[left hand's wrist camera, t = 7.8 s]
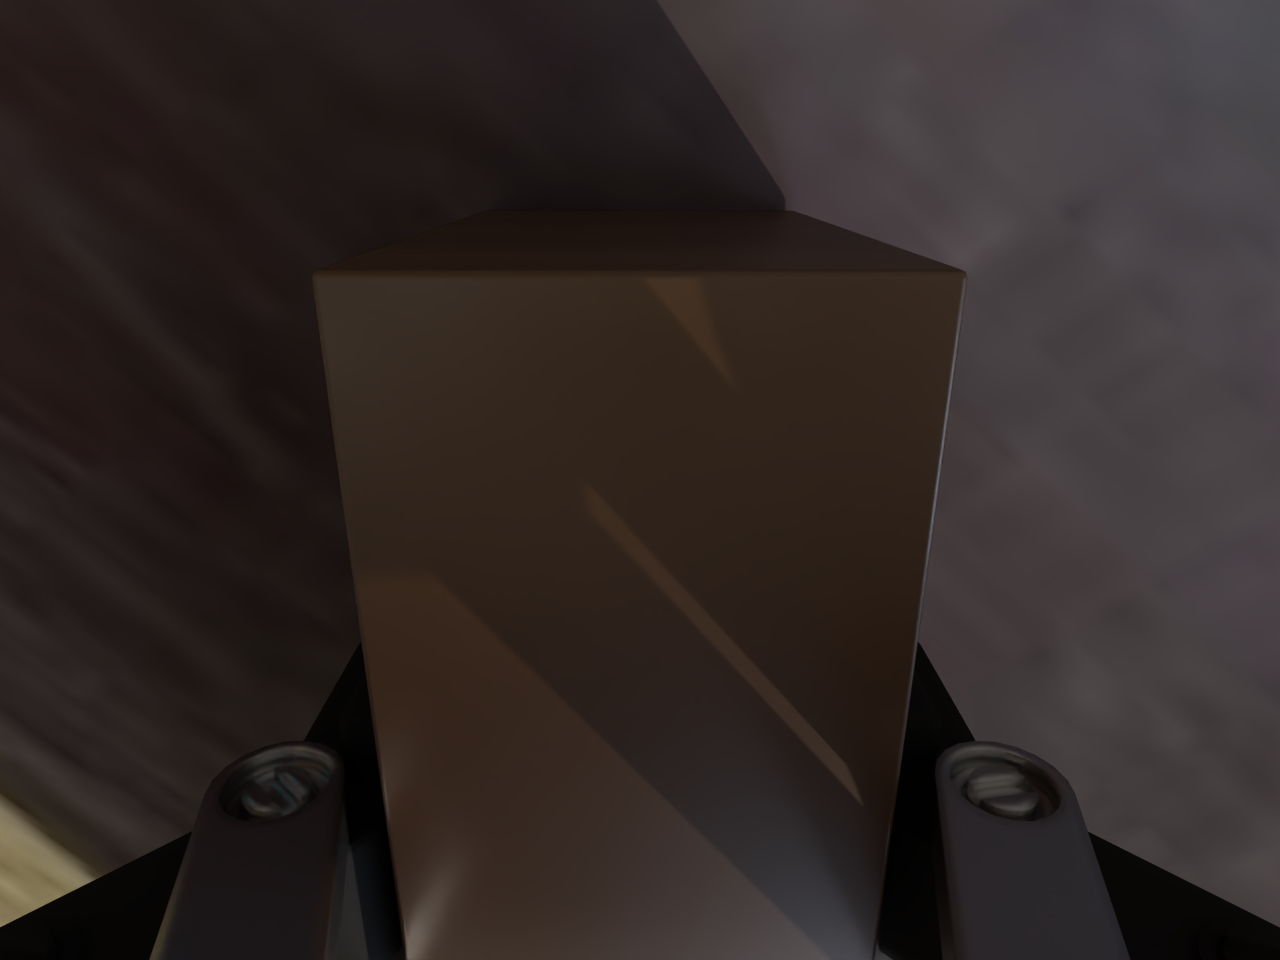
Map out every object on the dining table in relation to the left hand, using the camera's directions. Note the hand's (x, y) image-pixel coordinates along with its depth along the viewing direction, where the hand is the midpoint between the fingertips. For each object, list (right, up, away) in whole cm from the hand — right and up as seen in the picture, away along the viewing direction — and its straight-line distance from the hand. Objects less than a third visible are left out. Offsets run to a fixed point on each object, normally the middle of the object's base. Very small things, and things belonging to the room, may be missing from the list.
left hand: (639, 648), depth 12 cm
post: (0, -31, +14) cm, 34 cm away
